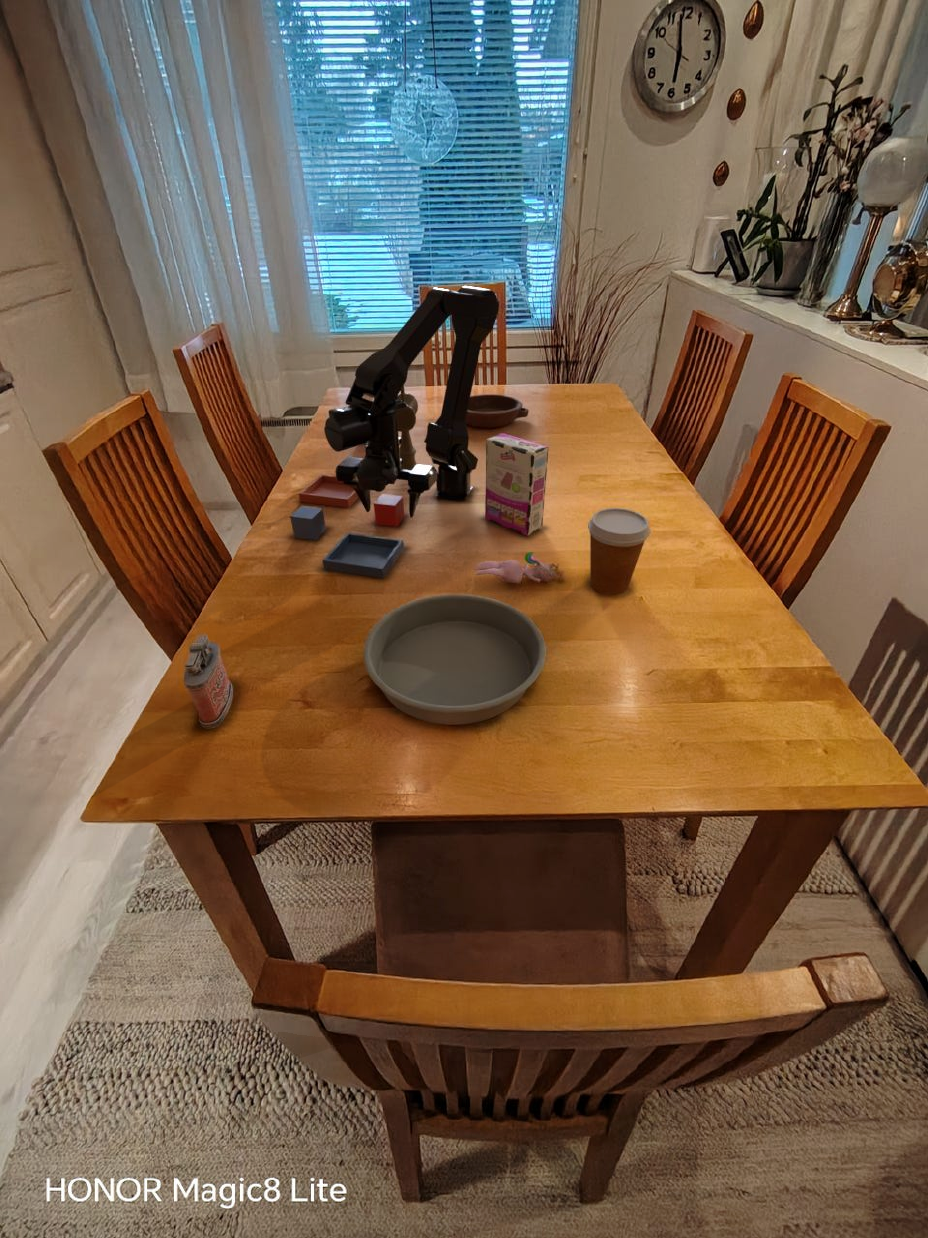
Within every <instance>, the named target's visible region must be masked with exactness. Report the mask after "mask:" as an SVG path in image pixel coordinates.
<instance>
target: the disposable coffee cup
mask: <svg viewBox="0 0 928 1238" xmlns="http://www.w3.org/2000/svg"><path fill="white" fill-rule="evenodd" d="M587 529H588V531H589V542H590V544H589V545H590V547H589V550H590V553H589V554H590V555H589V556H590V557H589V558H590V559H589V560H590V561H589V562H590V564H589V565H590V566H589V567H590V569H589V571H590V572H589V576H590V577H589V579H590V586H591V588H592V589H594V590H595V591H596V592H598V593H600V594H603V595H609V596H615V595H622V594H624V593H625V592H627V591H628V590H629V586H630V584H631V581H632V578H633V575H634V572H635V569H636V567H637V564H638V561H639V558H640V555H641V553H642V550H643V547H644V544H645V541H646V540H647V539H648V537H649V536H650V534H651V528H650V526H649V521H648V518H647V517H646V516H644V515H643V514H641V513H640V512H638V511H635V510H632V509H629V508H623V507H607V508H603V509H600V510H598V511H597V512H594V514H593V515H592V516H591V519H589V521H588V523H587Z"/></svg>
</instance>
